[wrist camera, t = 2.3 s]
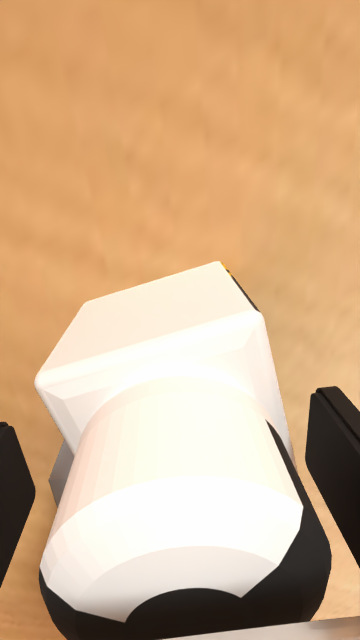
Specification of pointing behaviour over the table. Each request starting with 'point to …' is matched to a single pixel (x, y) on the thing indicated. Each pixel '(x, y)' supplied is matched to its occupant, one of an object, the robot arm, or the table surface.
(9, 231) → the table surface
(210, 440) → the medicine bottle
